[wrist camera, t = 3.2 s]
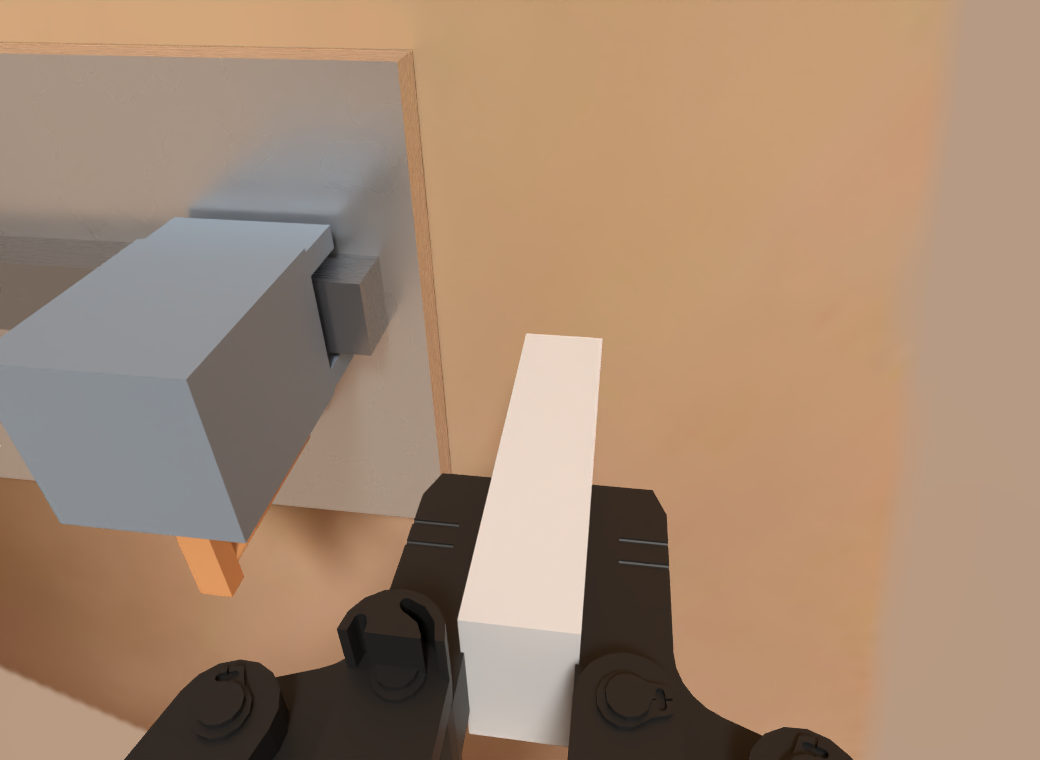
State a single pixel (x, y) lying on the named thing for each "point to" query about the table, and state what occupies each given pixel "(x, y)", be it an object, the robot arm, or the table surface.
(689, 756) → the robot arm
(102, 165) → the bolt plate
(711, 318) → the table surface
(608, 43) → the table surface
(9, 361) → the slider
